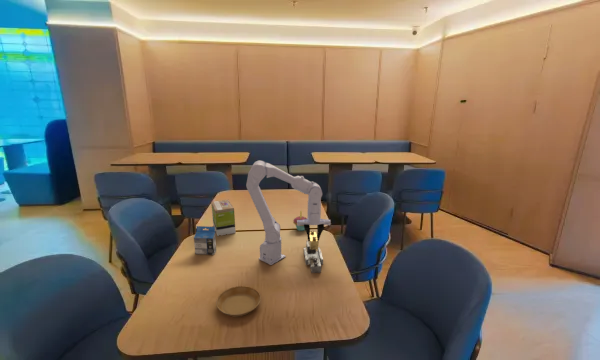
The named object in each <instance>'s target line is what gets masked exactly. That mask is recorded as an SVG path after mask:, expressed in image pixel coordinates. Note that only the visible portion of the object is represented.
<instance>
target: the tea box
mask: <svg viewBox="0 0 600 360" xmlns="http://www.w3.org/2000/svg"><path fill="white" fill-rule="evenodd" d="M210 204H211V213H212V224H213V226H212V227H215V235H216V236H217V237H219V235H221V236H224V235H225V236H226V234H227V235H232V234H236V221H235V220H236V218H235V217H236V216H235V207H234V206H233V204H232V203H231V201H230V200H229V199H224V200H217V201H211V203H210Z"/></svg>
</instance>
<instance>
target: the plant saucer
mask: <svg viewBox="0 0 600 360" xmlns="http://www.w3.org/2000/svg"><path fill="white" fill-rule="evenodd" d="M261 299H262V297H261V294H260V292H259V291H258V290H257V289H256V288H254V287H251V286H246V285H238V286H233V287H230V288H228V289H226V290H224V291H222V292H221V293H220V294H219V296H218V297H217V298H216V302H215V304H216V307H217V309H218V310H219V312H221V313H223V314H224V315H226V316H230V317H236V318H237V317H243V316H245V315H247V314H249V313H252V312H253V311H254V310H256V308H257V307H258V306H259V304H260V303H261Z"/></svg>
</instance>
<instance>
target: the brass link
mask: <svg viewBox="0 0 600 360" xmlns="http://www.w3.org/2000/svg"><path fill="white" fill-rule="evenodd" d="M307 241H308V240H307ZM319 241H320V240H319ZM319 241H318V238H317V231H314V230H310V241H308V242H309V246H310V250H316V251H317V250H318V247H319Z"/></svg>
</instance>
